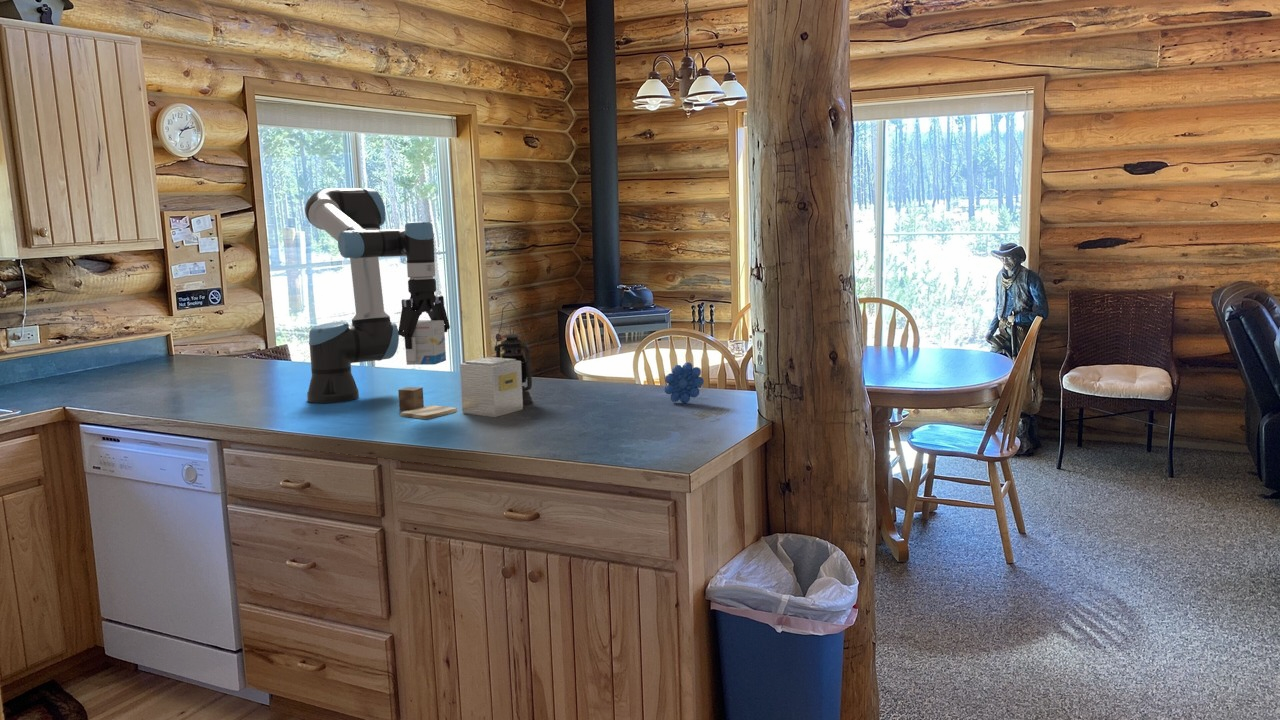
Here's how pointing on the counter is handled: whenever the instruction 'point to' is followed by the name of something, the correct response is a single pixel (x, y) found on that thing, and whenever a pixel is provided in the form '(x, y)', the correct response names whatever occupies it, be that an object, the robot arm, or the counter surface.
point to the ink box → (429, 343)
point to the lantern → (517, 357)
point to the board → (428, 412)
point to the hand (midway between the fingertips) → (426, 357)
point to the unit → (491, 386)
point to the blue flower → (683, 382)
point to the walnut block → (410, 398)
